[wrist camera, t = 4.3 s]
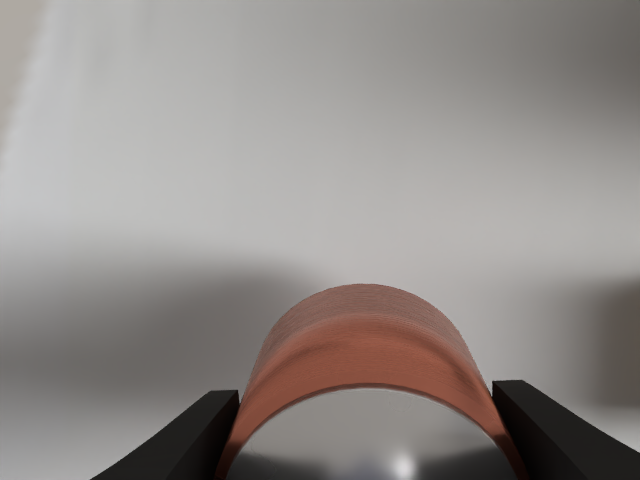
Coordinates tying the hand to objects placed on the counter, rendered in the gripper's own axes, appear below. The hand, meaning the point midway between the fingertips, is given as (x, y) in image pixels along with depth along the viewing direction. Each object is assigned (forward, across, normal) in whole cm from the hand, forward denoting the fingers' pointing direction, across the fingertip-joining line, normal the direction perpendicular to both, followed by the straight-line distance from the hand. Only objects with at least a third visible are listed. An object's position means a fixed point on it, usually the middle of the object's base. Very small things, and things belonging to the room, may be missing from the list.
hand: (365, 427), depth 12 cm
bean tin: (+2, 0, 0) cm, 2 cm away
